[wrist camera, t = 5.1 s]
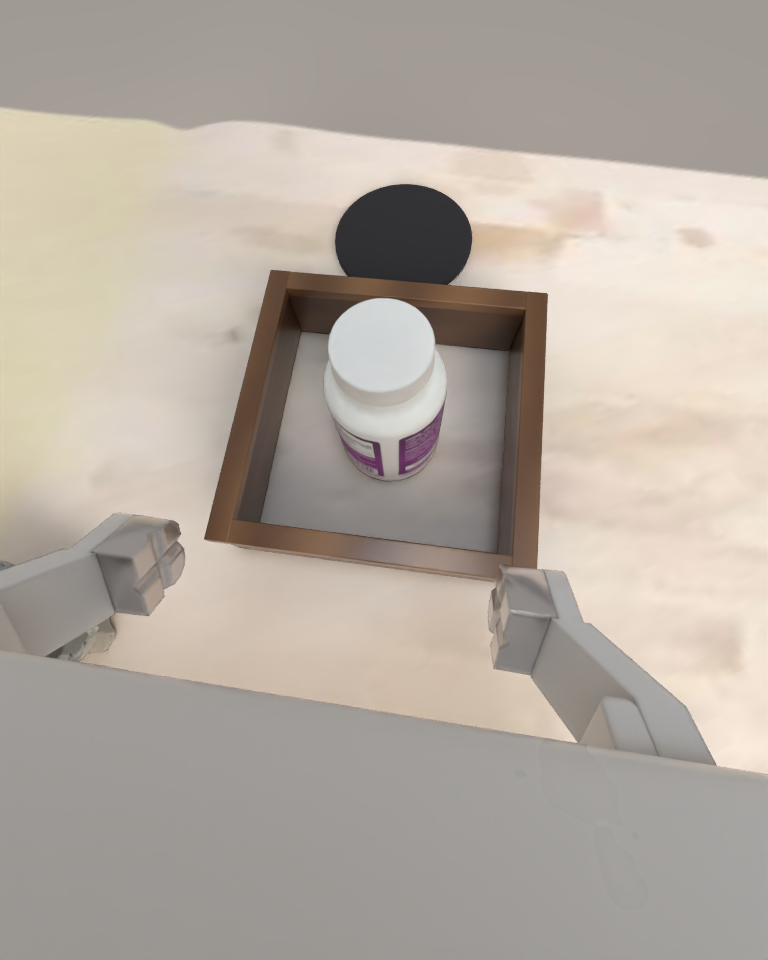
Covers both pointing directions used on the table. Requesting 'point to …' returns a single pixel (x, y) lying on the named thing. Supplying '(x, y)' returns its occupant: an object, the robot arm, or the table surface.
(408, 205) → the coaster
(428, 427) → the pill bottle
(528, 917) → the robot arm
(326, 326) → the wooden square frame
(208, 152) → the table surface
